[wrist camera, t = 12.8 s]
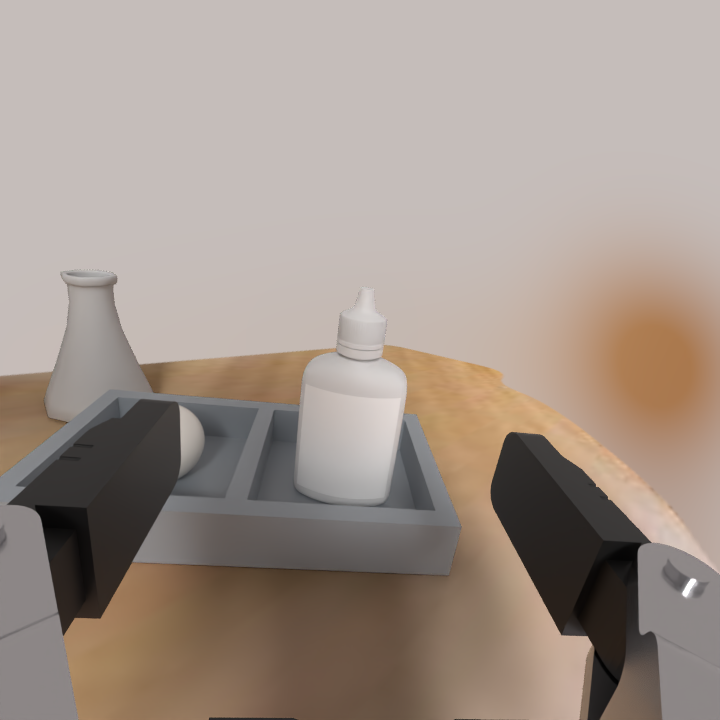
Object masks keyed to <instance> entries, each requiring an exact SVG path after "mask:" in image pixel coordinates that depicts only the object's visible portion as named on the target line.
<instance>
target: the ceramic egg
mask: <svg viewBox="0 0 720 720" xmlns="http://www.w3.org/2000/svg"><path fill="white" fill-rule="evenodd" d="M179 408H180V436H181V465H180V472H179V476H178V479H179V478H181V477H182V476H184V475H186V474H187V473H188V472H189V471H190V470H192V469H193V467H194V466H195V465H196V464H197V462H198V461H199V459H200V457H201V455H202V453H203V449H204V444H205V436H204V430H203V427H202V425H201V422H200V421H199V419H198V418H197V417H196V416H195V415H194V414H193V413H192V412H191V411H190V410H188V409H187V408H185V407H183V406H180V405H179Z"/></svg>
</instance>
